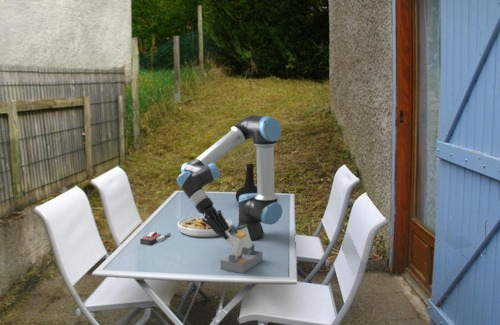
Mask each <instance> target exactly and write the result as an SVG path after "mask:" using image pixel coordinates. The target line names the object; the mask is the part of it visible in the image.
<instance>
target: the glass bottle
mask: <svg viewBox="0 0 500 325" xmlns="http://www.w3.org/2000/svg"><path fill="white" fill-rule="evenodd" d="M245 167H246V170H245V171H246V174H245V180H244V184H243V186H241V187H240V188H238V189H237V191H236V192H235V200H236V203H238V202H239V196H240V195H243V194H250V193H257V186H255V180H254V179H255V178H254V168H255V166H254V164H253V163H246V166H245Z"/></svg>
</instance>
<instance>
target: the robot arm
mask: <svg viewBox="0 0 500 325" xmlns="http://www.w3.org/2000/svg"><path fill="white" fill-rule="evenodd" d="M281 134H282V126H281V123H280V122H279V120H278V119H277V118H275V117H272V116H269V115H256V114H252V115H247V116H246V117H244V118H242V119H241V120H239V121H238V122H237V123H235V124H234V125H233V126H231V128H230V131H228V133H226V134H224V135H223V136H222V137H221V138H220V139H218V140H217V141H216V142H215V143H213V144H212V145H211V146H210V147H209V148H207V149H206V150H204V152H202V153H201V154H200V155H198V156H197V157H195V159H192V161H191V162H190V161H188V162H184V163H183V164H182V165H181V168H180V173H181V174H179V175H178V176H177V178H176V182H177V184H178V186H179V188H180V189H181V190H182V192H183V193H184V195H186V197H187V198H188V199H189V201H190V202H191V203H192V205H193V206H194V207H195V209H196V211H197V212H198V213H199V214H202V216H203V218H202V220H203V221H204V222H206V223H207V224H208V225H209V226H210V227H211V228H212V229H213V230H214V231H215V233H216V234H219V235H220V236H222V238H223V239H224V240H225V241H226V242H227V244H228V245H229V247H233V244H234V240H235V238H234V237H233V236H232V234H231V233H230V231H229V232H228V229H229V226H228V224H227V223H226V221H225V219H224V218H225V217H224V215H223V213H222V210H221V209H219V210H217V209H216V208H215V207H214V202H213V201H212V199H211V198H210V197H209V196H208V194H207V193H206V191H205V190H204V189H203V187H205V186H207V185H208V184H210V183H212V182H214V181H215V180H217V179H218V178H219V177H220V175H221V173H220V170H219V167H218V166H217V165H216V163H217V162H218V161H219V160H220V159H221V158H223V157H224V156H225V155H226V154H228V153H230V152H231V151H232V150H233V149H234V148H235V147H236V146H239V144H240V143H245V142H246V141H248V140H249V139H252V143H253V146H254V147H255V148H256V181H257V182H256V187H257V193H250V194H243V195H240V196H239V202H237V203H238V224H237V227H239V226H241V225H245V224H247V229H248V232H249V236H250V239H251V241H257V240H259V241H260V240H262V239H263V238H265V236H264V234H265V233H264V229H263V226H262V223H263V224H265V225H271V226H272V225H274V224H276V223H277V222H279V220H280V219H281V218H282V215H283V207H282V205H281V204H280V203H279V202H278V195H276V193H275V159H274V158H275V154H274V153H275V152H274V151H275V146H276V145H277V142H278V140H279V138H280V136H281ZM237 227H236V228H237ZM237 233H238V231H237V230H236V229H235V233H234V235H235V234H237Z"/></svg>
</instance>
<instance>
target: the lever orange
mask: <svg viewBox="0 0 500 325" xmlns="http://www.w3.org/2000/svg"><path fill="white" fill-rule="evenodd" d="M246 234H247V233H244V232H242V231H241V232H239V233H237V234H235V233H234V244H233V245H232V248H231V253H230V255H234V256H235V259H236V258H238V257H240V255H241V252H242V248H243V244H244V240H245V236H246Z"/></svg>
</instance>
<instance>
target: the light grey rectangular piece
mask: <svg viewBox="0 0 500 325" xmlns="http://www.w3.org/2000/svg"><path fill="white" fill-rule="evenodd" d="M236 230H237V231H238V233H239V232H241V231H242V232H244V233H247V234H246V236H245V240H244V244H243V247H245V248H248V251H250V250H252V249H253V247H252V246H253V245H252V244H253V242H252V240H251V239H250V236H249V232H248V229H247V224H245V225H241V226H239V227H236V228H235V231H236Z"/></svg>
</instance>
